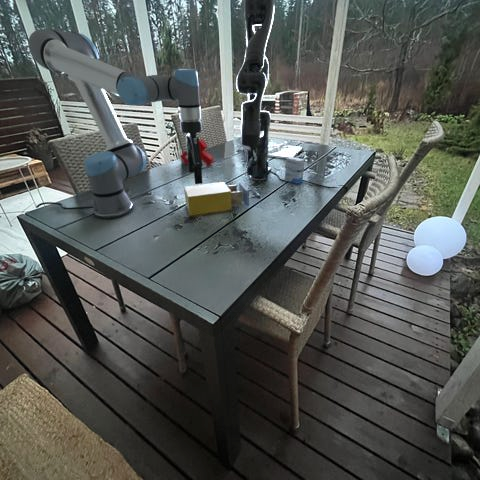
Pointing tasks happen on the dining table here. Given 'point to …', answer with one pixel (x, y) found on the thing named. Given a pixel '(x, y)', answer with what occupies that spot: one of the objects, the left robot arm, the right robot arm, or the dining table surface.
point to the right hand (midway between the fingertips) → (250, 174)
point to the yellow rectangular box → (207, 199)
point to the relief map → (282, 150)
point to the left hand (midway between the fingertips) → (195, 177)
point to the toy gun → (204, 155)
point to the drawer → (241, 194)
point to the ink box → (294, 170)
